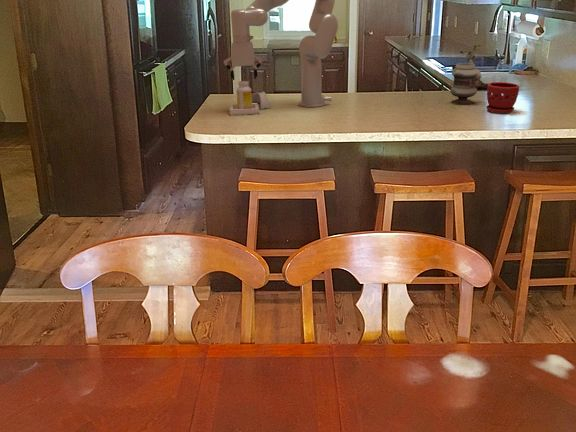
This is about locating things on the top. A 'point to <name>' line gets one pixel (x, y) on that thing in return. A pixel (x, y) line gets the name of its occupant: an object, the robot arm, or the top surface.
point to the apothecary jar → (464, 83)
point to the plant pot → (501, 97)
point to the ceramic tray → (243, 110)
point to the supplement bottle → (244, 95)
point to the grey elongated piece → (261, 99)
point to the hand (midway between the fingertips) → (244, 79)
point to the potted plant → (477, 78)
